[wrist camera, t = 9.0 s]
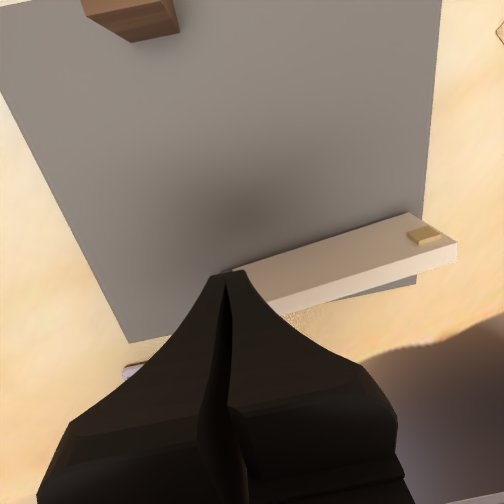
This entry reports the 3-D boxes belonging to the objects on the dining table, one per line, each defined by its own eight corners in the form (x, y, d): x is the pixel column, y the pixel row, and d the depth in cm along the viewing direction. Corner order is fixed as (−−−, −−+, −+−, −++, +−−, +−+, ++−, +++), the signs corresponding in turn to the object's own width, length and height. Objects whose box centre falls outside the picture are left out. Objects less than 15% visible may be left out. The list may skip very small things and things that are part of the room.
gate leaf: (223, 290, 21) (224, 340, 17) (213, 270, 20) (212, 316, 16) (409, 231, 20) (459, 267, 16) (407, 207, 19) (459, 238, 15)
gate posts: (246, 308, 22) (254, 367, 17) (214, 314, 22) (213, 376, 17) (167, -22, 13) (137, -88, 9) (114, -11, 13) (54, -71, 9)
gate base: (408, 276, 24) (415, 283, 23) (132, 334, 24) (128, 343, 23) (435, -75, 14) (449, -86, 13) (-23, 19, 14) (-39, 14, 13)
